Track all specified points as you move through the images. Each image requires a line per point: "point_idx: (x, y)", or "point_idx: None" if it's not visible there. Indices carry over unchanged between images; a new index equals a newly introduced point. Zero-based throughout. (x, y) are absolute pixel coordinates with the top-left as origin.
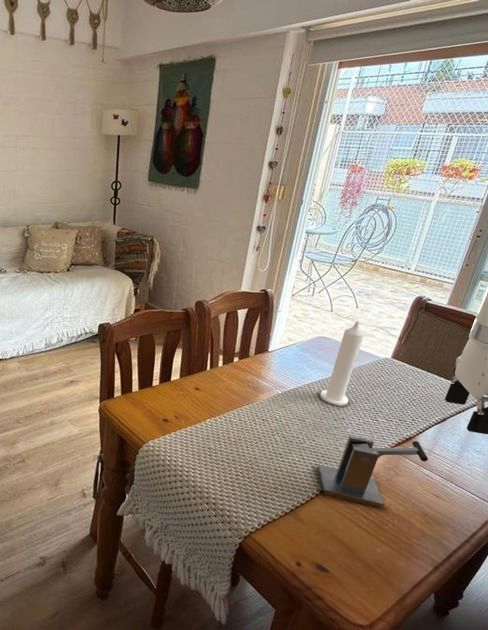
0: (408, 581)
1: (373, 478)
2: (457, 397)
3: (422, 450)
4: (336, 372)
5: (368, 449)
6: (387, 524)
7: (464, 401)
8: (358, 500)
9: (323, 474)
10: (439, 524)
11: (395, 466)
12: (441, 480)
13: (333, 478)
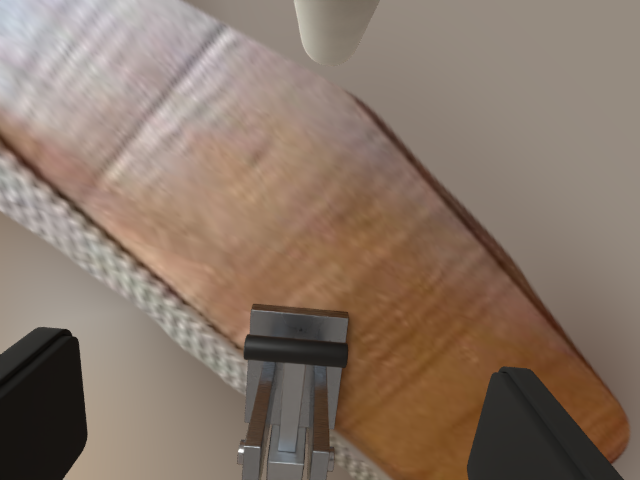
0: (543, 330)
1: (254, 312)
2: (42, 443)
3: (306, 356)
4: None
5: (300, 466)
6: (397, 317)
7: (54, 360)
8: None
9: (279, 420)
10: (368, 198)
11: (159, 220)
12: (178, 109)
13: None
